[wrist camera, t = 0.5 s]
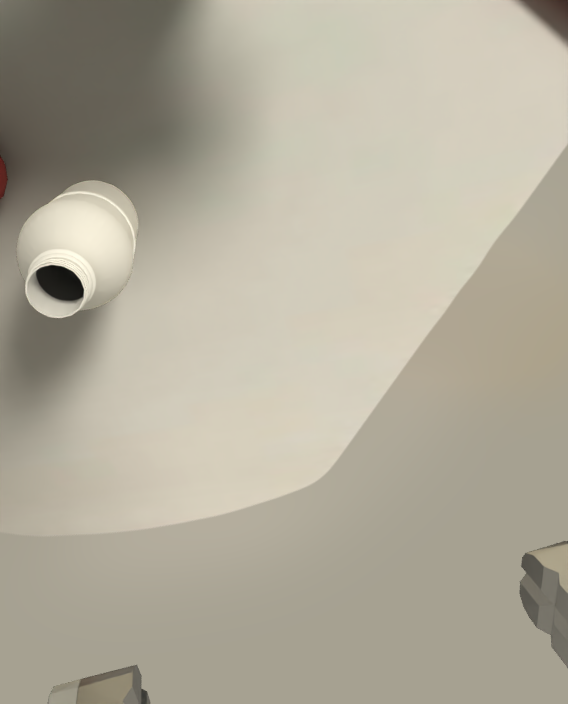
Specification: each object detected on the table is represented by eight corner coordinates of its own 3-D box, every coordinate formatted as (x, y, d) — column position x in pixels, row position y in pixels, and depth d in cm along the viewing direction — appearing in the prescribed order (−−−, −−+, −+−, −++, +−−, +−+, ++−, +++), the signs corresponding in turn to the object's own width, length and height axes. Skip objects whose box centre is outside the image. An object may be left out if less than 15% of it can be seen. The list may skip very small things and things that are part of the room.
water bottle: (142, 254, 52) (134, 350, 30) (64, 257, 51) (-6, 360, 28) (135, 176, 50) (120, 218, 27) (52, 178, 48) (-37, 222, 26)
